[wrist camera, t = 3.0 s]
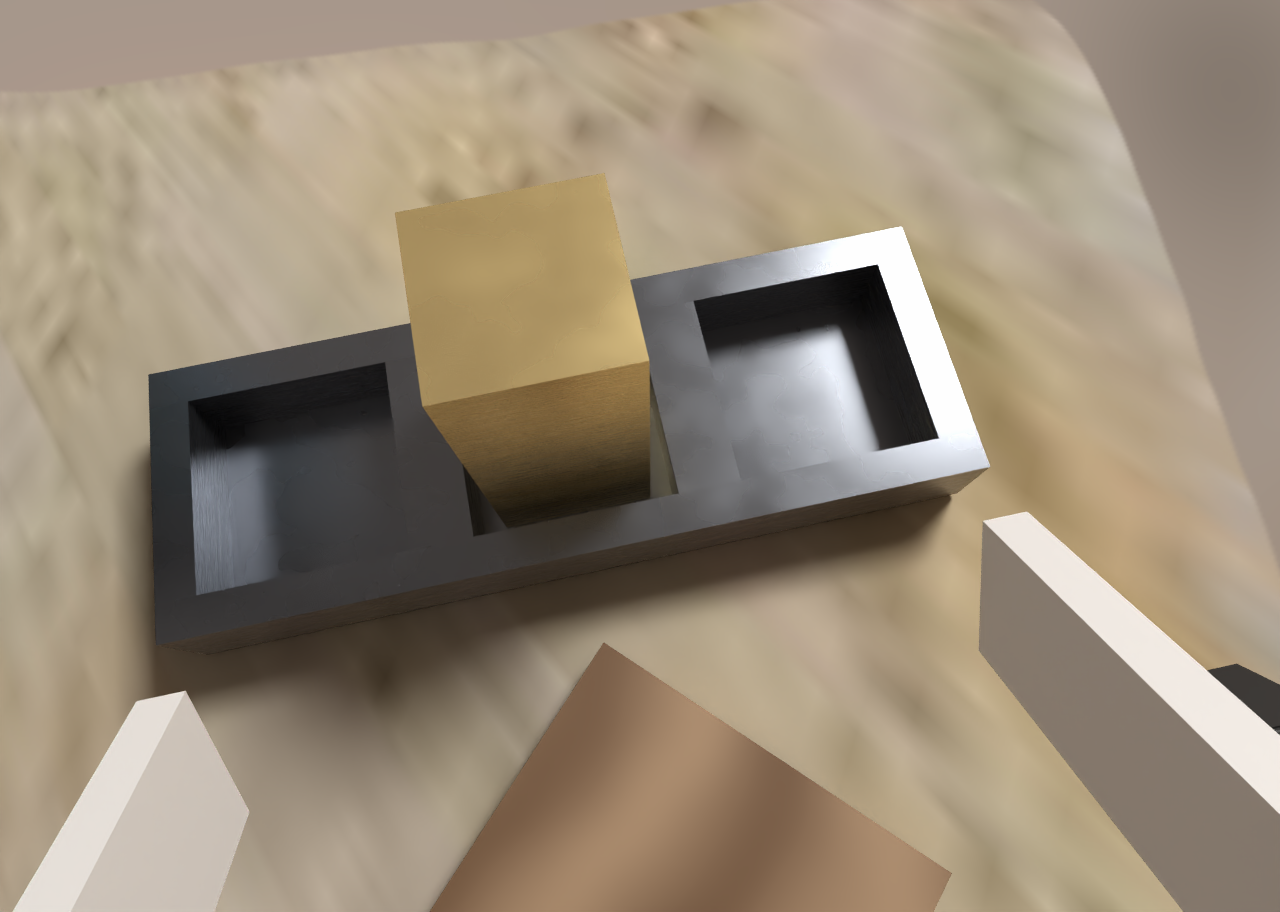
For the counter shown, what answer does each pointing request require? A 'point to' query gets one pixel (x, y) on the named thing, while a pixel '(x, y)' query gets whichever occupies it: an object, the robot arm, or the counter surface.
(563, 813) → the coaster
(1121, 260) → the counter surface
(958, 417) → the compartment tray
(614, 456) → the golden rectangular block
